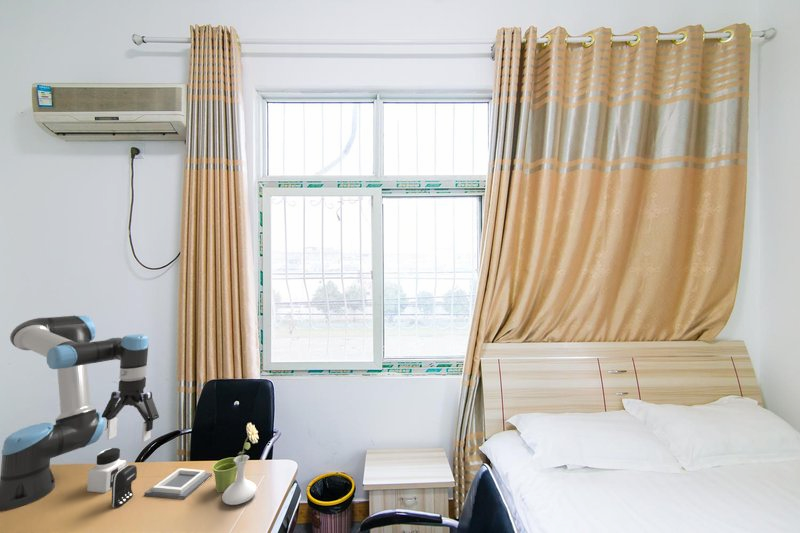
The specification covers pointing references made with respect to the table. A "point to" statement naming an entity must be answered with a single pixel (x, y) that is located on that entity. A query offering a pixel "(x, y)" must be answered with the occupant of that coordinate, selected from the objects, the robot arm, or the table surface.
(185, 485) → the tray
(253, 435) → the flower in vase
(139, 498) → the table surface
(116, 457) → the container
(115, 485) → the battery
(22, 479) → the robot arm
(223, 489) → the plant pot
